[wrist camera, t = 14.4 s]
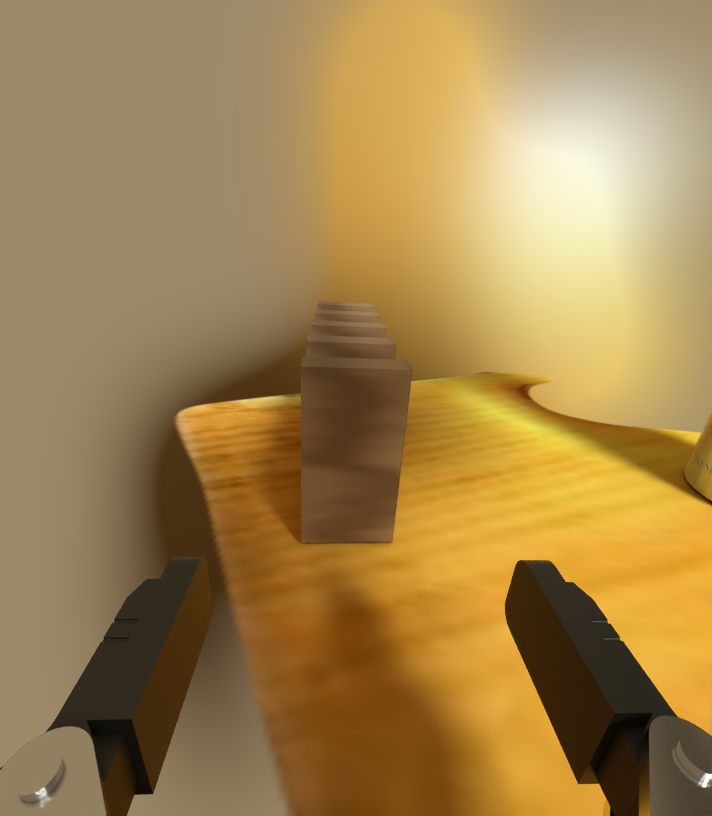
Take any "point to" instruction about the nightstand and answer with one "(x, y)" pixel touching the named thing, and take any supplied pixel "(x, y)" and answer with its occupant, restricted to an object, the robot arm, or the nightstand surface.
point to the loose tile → (351, 447)
